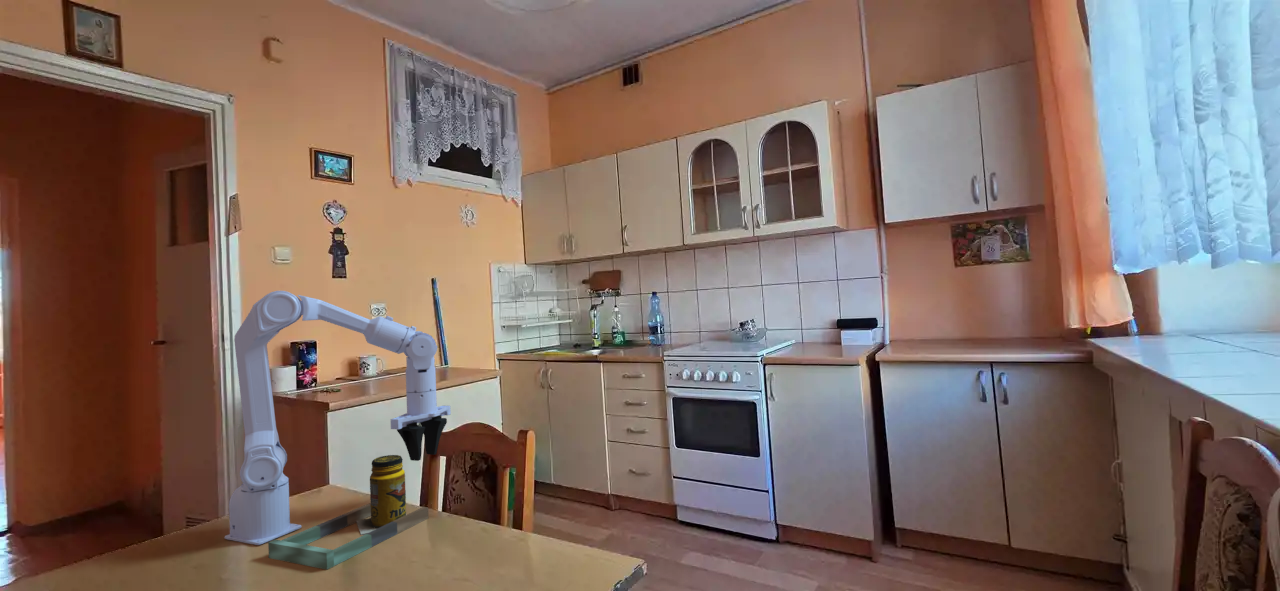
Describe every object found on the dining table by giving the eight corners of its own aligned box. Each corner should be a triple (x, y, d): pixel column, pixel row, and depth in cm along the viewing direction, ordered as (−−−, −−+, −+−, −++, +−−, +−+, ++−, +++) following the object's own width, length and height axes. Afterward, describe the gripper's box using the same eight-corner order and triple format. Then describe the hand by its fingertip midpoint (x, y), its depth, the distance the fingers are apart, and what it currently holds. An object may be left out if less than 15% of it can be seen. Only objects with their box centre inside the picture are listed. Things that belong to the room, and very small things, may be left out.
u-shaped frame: (268, 557, 90) (268, 542, 90) (376, 510, 110) (375, 498, 110) (327, 569, 85) (326, 553, 85) (428, 518, 105) (428, 504, 105)
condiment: (411, 523, 102) (409, 458, 103) (361, 535, 98) (359, 467, 98) (404, 511, 109) (402, 450, 109) (356, 522, 104) (354, 458, 104)
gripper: (409, 397, 105) (411, 468, 105) (460, 385, 119) (463, 449, 118) (381, 396, 108) (383, 466, 108) (435, 385, 121) (437, 447, 121)
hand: (423, 457), depth 113 cm, fingers open, 4 cm apart
